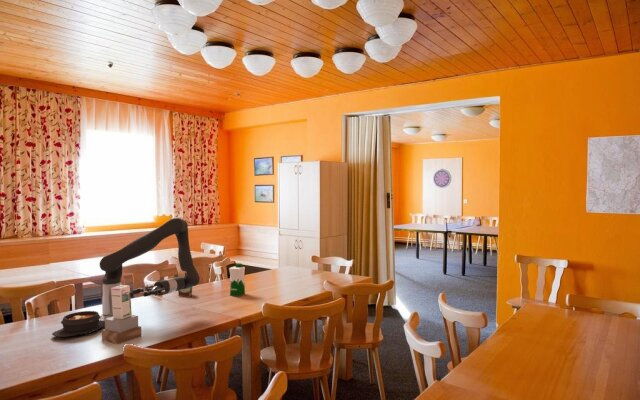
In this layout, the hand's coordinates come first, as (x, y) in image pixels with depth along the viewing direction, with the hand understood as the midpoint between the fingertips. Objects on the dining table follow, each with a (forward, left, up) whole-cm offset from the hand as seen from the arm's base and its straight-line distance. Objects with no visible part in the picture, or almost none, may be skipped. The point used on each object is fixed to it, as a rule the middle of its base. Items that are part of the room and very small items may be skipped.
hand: (138, 293), depth 203 cm
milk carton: (-8, +80, -19) cm, 83 cm away
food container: (-37, +64, -19) cm, 77 cm away
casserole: (-26, -13, -19) cm, 35 cm away
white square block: (-1, -9, -14) cm, 17 cm away
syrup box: (0, -8, -9) cm, 13 cm away
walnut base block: (-1, -9, -19) cm, 21 cm away
